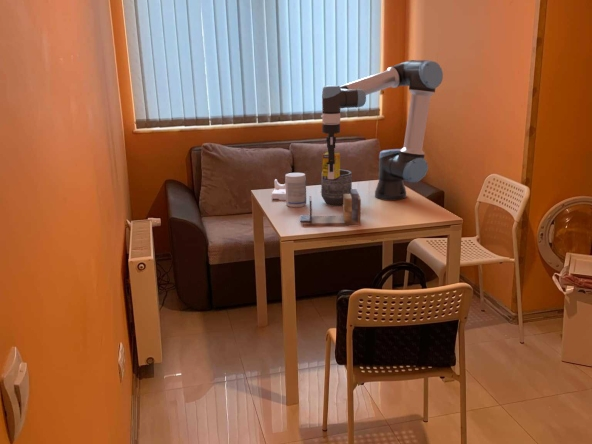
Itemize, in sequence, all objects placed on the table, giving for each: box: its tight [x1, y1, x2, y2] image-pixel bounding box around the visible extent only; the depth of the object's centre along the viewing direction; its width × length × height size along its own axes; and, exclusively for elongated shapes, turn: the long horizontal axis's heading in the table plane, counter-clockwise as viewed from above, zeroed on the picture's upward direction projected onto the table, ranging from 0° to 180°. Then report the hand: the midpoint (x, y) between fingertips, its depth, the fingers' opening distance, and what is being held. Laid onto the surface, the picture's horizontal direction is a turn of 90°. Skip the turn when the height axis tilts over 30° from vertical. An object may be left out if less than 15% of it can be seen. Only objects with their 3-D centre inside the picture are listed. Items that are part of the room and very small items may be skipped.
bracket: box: [271, 178, 286, 201], centre depth 292 cm, size 13×7×8 cm, turn 174°
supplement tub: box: [284, 172, 307, 208], centre depth 275 cm, size 10×10×15 cm
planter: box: [320, 168, 353, 207], centre depth 277 cm, size 14×14×15 cm
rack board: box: [301, 188, 362, 227], centre depth 248 cm, size 24×11×13 cm, turn 89°
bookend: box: [299, 195, 313, 223], centre depth 249 cm, size 5×8×9 cm, turn 179°
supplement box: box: [322, 151, 341, 181], centre depth 252 cm, size 6×6×11 cm
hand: (330, 176), depth 254 cm, fingers closed on supplement box, 7 cm apart
